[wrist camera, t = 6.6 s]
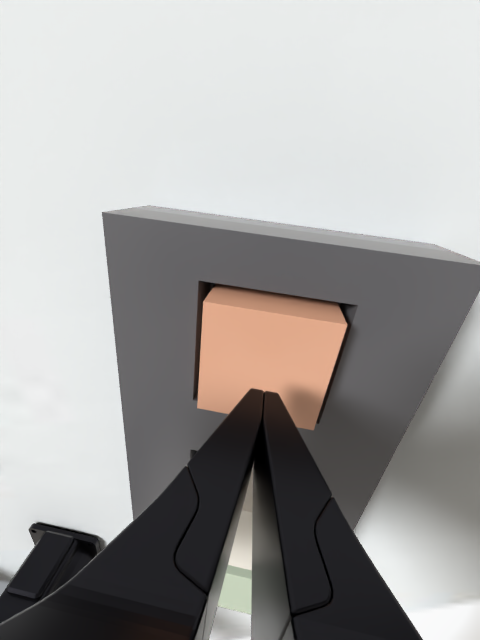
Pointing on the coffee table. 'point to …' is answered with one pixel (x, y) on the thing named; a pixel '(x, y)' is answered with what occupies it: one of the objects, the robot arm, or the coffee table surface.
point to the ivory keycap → (244, 533)
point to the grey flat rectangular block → (287, 278)
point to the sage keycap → (236, 590)
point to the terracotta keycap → (268, 349)
